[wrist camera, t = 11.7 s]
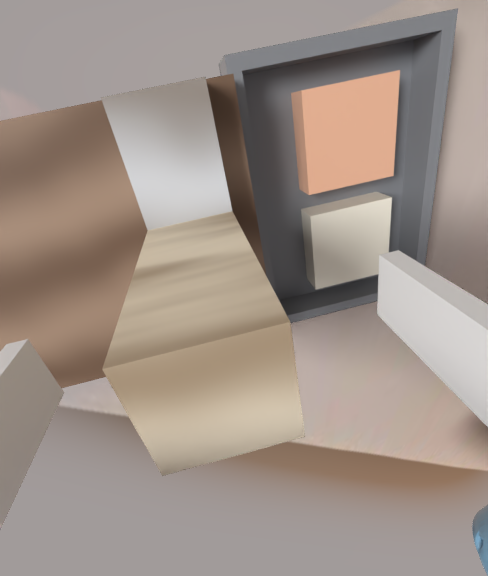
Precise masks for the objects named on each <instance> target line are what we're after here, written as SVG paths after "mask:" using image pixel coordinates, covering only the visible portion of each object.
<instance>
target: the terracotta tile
mask: <svg viewBox="0 0 488 576" xmlns="http://www.w3.org/2000/svg"><path fill="white" fill-rule="evenodd" d="M399 80H400V70H397V71H393V72H388V73H383V74H378V75H373V76H369V77H364V78H359V79H354V80H349V81H345V82H340V83H335V84H330V85H325V86H321V87H316V88H311V89H306V90H301V91H297V92H293V93H291V99H292V110H293V122H294V133H295V145H296V156H297V168H298V179H299V189H300V190H301V191H303V192H305V193H306V194H308V195H312V194H316V193H321V192H325V191H330V190H334V189H338V188H343V187H347V186H351V185H356V184H360V183H364V182H369V181H373V180H378V179H382V178H386V177H391V176H394V160H395V144H396V128H397V112H398V96H399Z"/></svg>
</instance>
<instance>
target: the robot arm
mask: <svg viewBox="0 0 488 576" xmlns="http://www.w3.org/2000/svg"><path fill="white" fill-rule="evenodd" d="M377 315H378V316H379V317H380V318H381V319H382V320H383V321H384V322H385V323H386V324H387V325H388V326H389V327H390V328H391V329H392V330H393V331H394V332H395V333H396V334H397V335H398V336H399V337H400V338H401V339H402V340H403V341H404V342H405V343H406V344H407V345H408V346H409V348H410V349H411V350H412V351H413V352H414V353H415V354H416V355H417V356H418V357H419V358H420V359H421V360H422V361H423V362H424V363H425V364H426V365H427V366H428V367H429V368H430V369H431V370H432V371H433V372H434V373H435V374H436V375H437V376H438V377H439V378H440V379H441V380H442V381H443V382H444V383H445V384H446V385H447V386H448V387H449V388H450V389H451V390H452V391H453V392H454V393H455V394H456V395H457V396H458V397H459V398H460V399H461V400H462V401H463V402H464V403H465V405H466V406H467V407H468V408H469V409H470V410H471V411H472V412H473V413H474V414H475V415H476V416H477V417H478V418H479V419H480V420H481V421H482V422H483V423H484V424H485V425H486V426H487V427H488V304H486V303H485V302H483V301H482V300H480V299H478V298H477V297H475V296H473V295H472V294H470V293H468V292H467V291H465V290H463V289H462V288H460V287H458V286H457V285H455V284H453V283H452V282H450V281H449V280H447V279H445V278H444V277H442V276H440V275H439V274H437V273H435V272H434V271H432V270H430V269H429V268H427V267H425V266H424V265H422V264H420V263H419V262H417V261H416V260H414V259H412V258H411V257H409V256H407V255H406V254H404V253H402V252H401V251H399V250H397V251H393V252H389V253H385V254H381V255H379V276H378V304H377ZM63 394H64V392H63V390H62V389H61V387H60V386H59V384H58V383H57V381H56V380H55V378H54V377H53V375H52V374H51V372H50V371H49V369H48V368H47V366H46V365H45V363H44V362H43V360H42V359H41V357H40V356H39V354H38V353H37V352H36V350H35V349H34V347H33V346H32V344H31V343H30V341H29V340H28V339H26V340H22V341H18V342H13V343H9V344H6V345H5V346H4V348H3V349H2V350H1V351H0V529H1V527H2V525H3V523H4V521H5V518H6V516H7V514H8V512H9V510H10V508H11V505H12V503H13V501H14V499H15V497H16V495H17V493H18V490H19V488H20V486H21V484H22V482H23V479H24V478H25V476H26V473H27V471H28V469H29V467H30V465H31V463H32V460H33V458H34V456H35V454H36V452H37V449H38V448H39V445H40V443H41V441H42V439H43V437H44V435H45V432H46V430H47V428H48V426H49V424H50V422H51V420H52V418H53V415H54V413H55V411H56V409H57V407H58V405H59V402H60V400H61V398H62V396H63ZM473 537H474V542H475V545H476V548H477V551H478V553H479V556H480V560H481V562H482V565H483V567H484V569H485V571H486V573H487V576H488V505H487V506H485V507H484V508H482V509H481V510H480V511H479V512H478V513H477V514H476V515H475V517H474V520H473Z"/></svg>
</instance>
